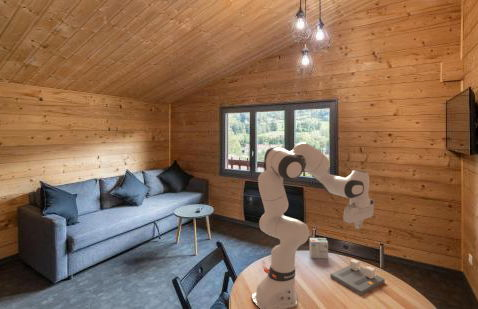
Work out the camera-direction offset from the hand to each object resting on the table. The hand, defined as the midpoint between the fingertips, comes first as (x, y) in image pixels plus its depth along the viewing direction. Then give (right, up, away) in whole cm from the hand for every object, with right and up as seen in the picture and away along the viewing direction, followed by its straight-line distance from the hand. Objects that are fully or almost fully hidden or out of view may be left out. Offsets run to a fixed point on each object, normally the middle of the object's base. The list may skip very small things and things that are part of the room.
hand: (358, 227), depth 131 cm
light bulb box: (-11, -27, +31) cm, 42 cm away
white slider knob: (+3, -26, +11) cm, 28 cm away
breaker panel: (+1, -29, +4) cm, 29 cm away
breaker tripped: (+8, -27, +3) cm, 28 cm away
